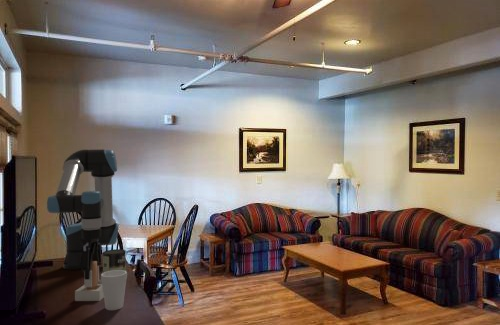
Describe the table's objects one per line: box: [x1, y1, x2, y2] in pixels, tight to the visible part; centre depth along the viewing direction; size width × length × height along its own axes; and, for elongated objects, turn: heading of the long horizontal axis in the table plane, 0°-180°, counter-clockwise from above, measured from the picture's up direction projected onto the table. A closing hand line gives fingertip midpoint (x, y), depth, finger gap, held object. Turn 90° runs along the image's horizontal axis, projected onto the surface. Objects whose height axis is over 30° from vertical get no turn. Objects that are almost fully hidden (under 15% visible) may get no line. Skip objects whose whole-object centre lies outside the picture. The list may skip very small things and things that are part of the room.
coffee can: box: [102, 248, 127, 273], centre depth 180 cm, size 10×10×14 cm
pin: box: [87, 261, 97, 290], centre depth 158 cm, size 4×4×14 cm
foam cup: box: [100, 270, 128, 311], centre depth 147 cm, size 10×9×13 cm
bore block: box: [74, 278, 104, 302], centre depth 162 cm, size 16×10×4 cm, turn 179°
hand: (92, 283), depth 158 cm, fingers open, 7 cm apart
